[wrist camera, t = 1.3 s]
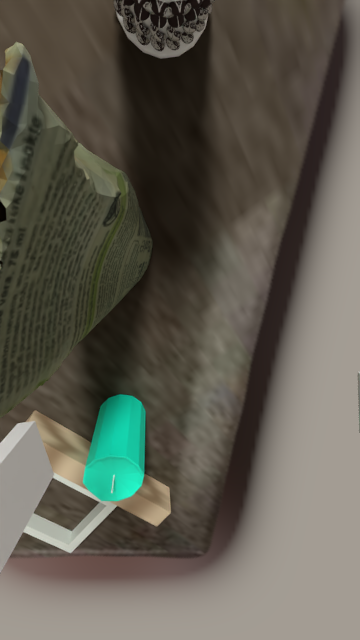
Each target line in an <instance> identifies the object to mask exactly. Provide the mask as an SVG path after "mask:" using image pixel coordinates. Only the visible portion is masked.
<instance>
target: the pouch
mask: <svg viewBox="0 0 360 640" xmlns="http://www.w3.org/2000/svg"><path fill="white" fill-rule="evenodd" d="M5 56H6V65H5V67H4V69H3V70H0V73H1V78H0V418H1V417H2V416H4V415H5V414H6V413H8V412H9V411H10V410H12V409H13V408H14V407H15V406H16V405H18V404H19V403H20V402H21V401H22V400H24V399H25V398H26V397H27V396H29V395H30V394H31V393H32V392H33V391H34V390H36V389H37V388H38V387H39V386H40V385H43V384H44V383H45V381H48V380H49V379H50V377H51V376H52V375H53V373H54V372H55V371H56V370H57V369H58V368H59V367H60V366H61V363H62V361H63V360H64V359H65V358H66V357H67V356H68V355H69V353H70V352H71V351H72V349H73V347H74V346H75V345H76V344H77V343H79V342H80V341H81V340H82V339H83V338H84V337H85V336H86V335H87V334H88V333H89V332H90V331H91V330H92V329H93V328H94V327H95V326H96V325H97V324H98V323H99V322H100V321H101V320H102V319H103V318H104V317H105V316H106V315H107V314H108V313H109V312H110V311H111V310H112V309H113V308H114V307H115V306H116V305H117V304H118V303H119V302H120V301H121V300H122V298H123V297H124V296H125V295H126V294H127V293H128V292H129V291H130V290H131V289H132V288H133V287H134V286H135V285H136V283H137V282H139V281H140V279H141V278H142V276H143V274H144V272H145V271H146V269H147V267H148V265H149V260H150V257H151V255H152V254H151V252H152V244H153V242H152V239H151V235H150V232H149V229H148V227H147V224H146V222H145V220H144V217H143V214H142V212H141V210H140V208H139V206H138V200H137V197H136V194H135V190H134V188H133V187H132V185H131V183H130V181H129V179H128V177H127V175H126V174H125V172H123V171H121V170H119V169H117V168H115V167H113V166H112V165H110V164H109V163H107V162H105V161H104V160H102V159H101V158H99V157H97V156H96V155H94V154H93V153H91V152H90V151H88V150H86V149H85V148H84V147H83V146H82V145H81V144H79V143H78V141H77V140H76V139H75V138H74V136H73V134H72V133H71V132H70V130H69V129H68V128H67V127H66V126H65V125H64V123H63V122H62V121H61V120H60V119H59V118H58V116H57V115H56V114H55V113H54V112H53V111H52V109H51V108H50V107H49V106H48V105H47V104H46V102H45V101H44V100H43V99H42V98H41V97H40V95H39V94H38V86H39V83H38V80H37V77H36V74H35V71H34V67H33V64H32V61H31V57H30V54H29V53H28V51H27V50H26V48H25V47H24V45H23V44H21V43H18V42H16V43H15V44H14V45H13V46H12V47H10V48H8V49H6V50H5Z"/></svg>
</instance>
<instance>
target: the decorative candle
mask: <svg viewBox="0 0 360 640" xmlns="http://www.w3.org/2000/svg"><path fill="white" fill-rule="evenodd" d="M214 1H215V0H114V7H115V10H116V13H117V18H118V20H119V22H120V24H121V26H122V28H123V30H124V31H125V33H126V35H127V37H128V39H129V40H130V41H132V42H133V43H134V44H135V45H136V46H137V47H138V48H139V49H140V50H141V51H142V52H144V53H146V54H149V55H152V56H155V57H157V58H160V59H162V58H170V57H178V56H180V55H181V54H183V53H184V52H186V51H187V50H189V49H190V48H192V47H193V46H194V45H195V44H196V42H197V40H198V39H199V37H200V36H201V34H202V33H203V31H204V29H205V27H206V23H207V19H208V15H209V14H210V13H211V11H212V4H211V3H213V2H214Z"/></svg>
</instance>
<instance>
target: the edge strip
mask: <svg viewBox="0 0 360 640" xmlns="http://www.w3.org/2000/svg"><path fill="white" fill-rule="evenodd" d="M31 421H35V422H36V425H37V428H38V431H39V433H40V436H41V439H42V442H43V445H44V447H45V450H46V453H47V456H48V459H49V461H50V464H51V467H52V470H53V472H54V473H56V474H58V475H60V476H61V477H63V478H65V479H67V480H69V481H71V482H73V483H75V484H77V485H79V486H81V487H82V488H84V489H86V490H88V489H87V488H86V486H85V485H84V484H83V477H84V471H85V466H86V462H87V458H88V454H89V450H90V446H91V442H89V441H88V440H86V439H84V438H83V437H81V436H79V435H77V434H76V433H74V432H72V431H70V430H69V429H67V428H65V427H64V426H62V425H60V424H58V423H57V422H55V421H53V420H51V419H50V418H48V417H46V416H44V415H43V414H41V413H39V412H38V411H36V410H35V411H34V412H33V413H32V415H31V416H30V417H29V418H28V420H27V421H26V422H31ZM88 491H89V490H88ZM109 502H111V503H113V504H115V505H117V506H119V507H121V508H122V509H124V510H126V511H128V512H130V513H132V514H134V515H136V516H138V517H140V518H142V519H143V520H145V521H147V522H149V523H151V524H153V525H155V526H158V525H159V524H160V523H161V522H162V521H163V520H164V519H165V518H166V517H167V516H168V515H169V514H170V513H171V506H170V491H169V487H167V486H166V485H164V484H162V483H160V482H159V481H157V480H155V479H153V478H152V477H150V476H148V475H146V474H145V473H144V478H143V482H142V486H141V487H140V488H139V489H138V490H137V491H136V492H135V493H134V494H133V495H132V496H131V497H128V498H126V499H123V500H120V501H109Z"/></svg>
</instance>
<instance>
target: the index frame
mask: <svg viewBox="0 0 360 640" xmlns="http://www.w3.org/2000/svg"><path fill="white" fill-rule="evenodd" d="M53 473H54V472H53ZM53 478H54V479H56V480H58V481H60V482H62V483H64V484H66V485H68V486H70V487H72V488H74V489H75V490H77V491H79V492H81V493H83V494H85V495H87V496H89V497H91V498H93V499H95V500H97V501H99V502H100V503H99V504H98V505H97V506H96V507H95V508H94V509H93V510H92V511H91V512H90V513H89V514H88V515H87V516H86V517H85V518H84V519H83V520H82V521H81V522H80V523H79V524H78V525H77V526H76V528H75V529H74V530H73V531H70V530H68V529H66V528H64V527H62V526H59V525H57V524H55V523H53V522H51V521H49V520H47V519H45V518H43V517H40V516H38V515H36V514H34V513H33V514H32V516H31V518H30V520H29V522H28V524H27V525H26V527H25V529H24V531H23V532H25V533H27V534H29V535H31V536H34V537H36V538H38V539H40V540H43V541H45V542H47V543H49V544H52V545H54V546H56V547H58V548H60V549H63V550H65V551H67V552H69V553H71V552H72V551H73V550H74V549H75V548H76V547H77V546H78V545H79V544H80V543H81V542H82V541H83V540H84V539H85V538H86V537H87V536H88V535H89V534H90V533H91V532H92V531H93V530H94V529H95V528H96V527H97V526H98V525H99V524H100V523H101V522H102V521H103V520H104V519H105V518H106V517H107V516H108V515H109V514H110V513H111V512H112V511H113V510H114V509H115V508H116V507H117V505H115V504H113V503H111V502H109V501H101V500H100V499H98V498H97V497H96V496H95V495H93V494H92V493H91V492H90V491H88V490H86V489H84V488H82V487H81V486H79V485H77V484H75V483H73V482H71V481H69V480H67V479H65V478H63V477H61V476H60V475H58V474H56V473H54V476H53Z"/></svg>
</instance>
